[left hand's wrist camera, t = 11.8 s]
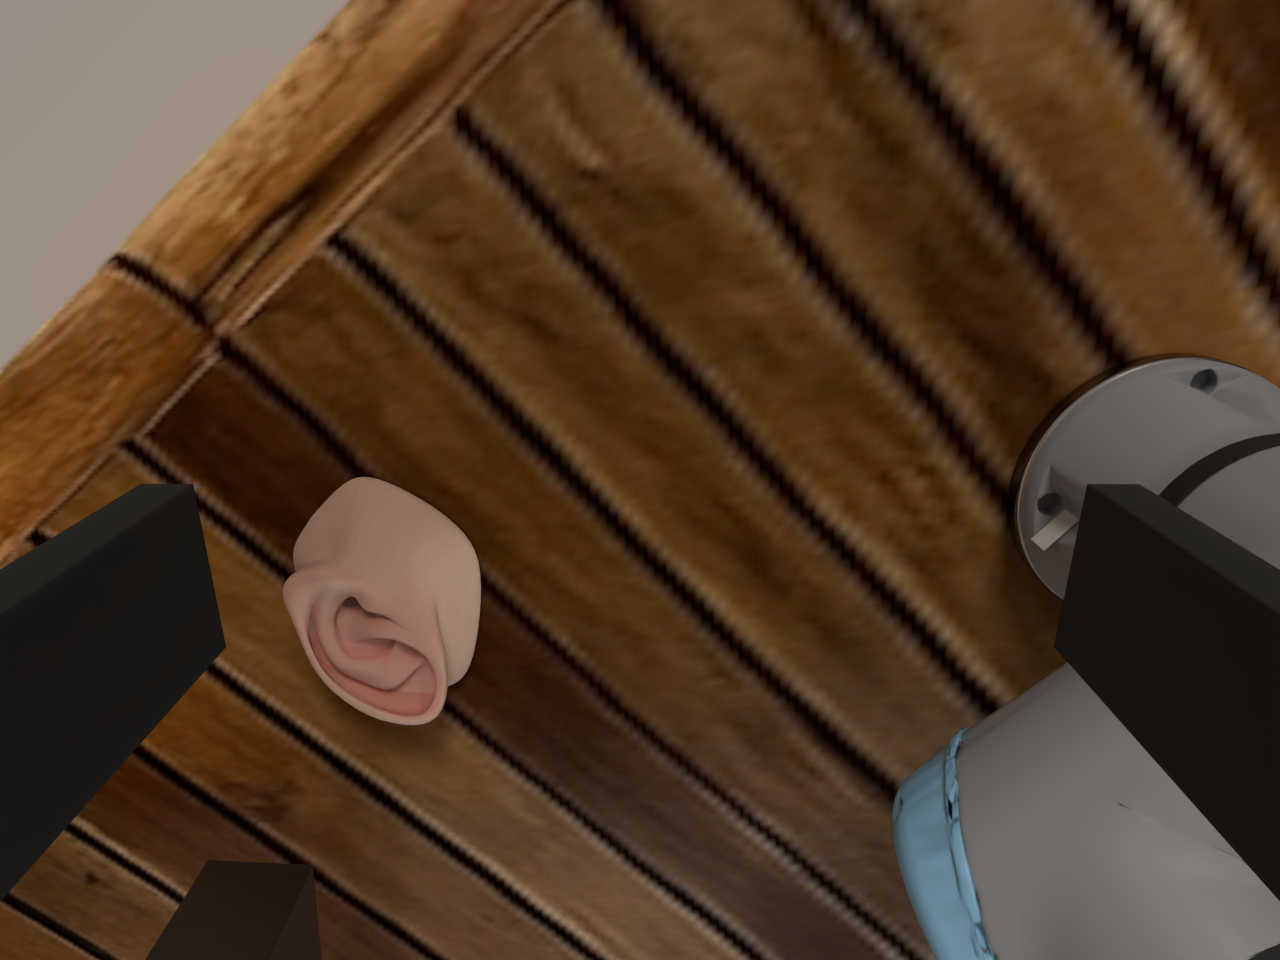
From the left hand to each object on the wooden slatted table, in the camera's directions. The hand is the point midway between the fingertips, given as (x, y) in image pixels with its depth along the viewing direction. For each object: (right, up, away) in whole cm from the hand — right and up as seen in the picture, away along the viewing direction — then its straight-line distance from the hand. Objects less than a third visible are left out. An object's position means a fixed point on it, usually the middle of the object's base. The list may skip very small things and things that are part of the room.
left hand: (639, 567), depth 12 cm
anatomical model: (-15, -5, +36) cm, 39 cm away
